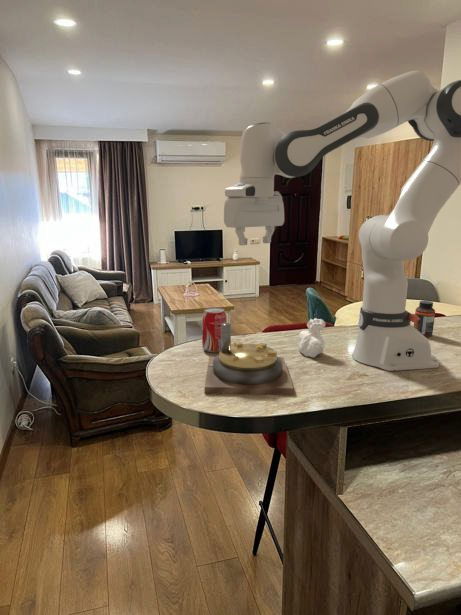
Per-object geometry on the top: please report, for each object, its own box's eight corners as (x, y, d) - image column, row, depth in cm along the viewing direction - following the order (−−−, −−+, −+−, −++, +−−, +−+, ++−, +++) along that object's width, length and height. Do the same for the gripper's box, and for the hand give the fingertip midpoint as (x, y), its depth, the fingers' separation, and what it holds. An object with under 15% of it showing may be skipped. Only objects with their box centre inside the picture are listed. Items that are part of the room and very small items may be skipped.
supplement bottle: (409, 332, 147) (412, 299, 144) (426, 332, 147) (429, 299, 145) (418, 338, 141) (422, 303, 138) (436, 337, 142) (440, 303, 139)
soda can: (203, 345, 131) (203, 306, 128) (226, 346, 131) (227, 307, 128) (201, 353, 124) (200, 312, 121) (225, 354, 124) (226, 313, 121)
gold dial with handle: (224, 349, 115) (224, 316, 113) (277, 352, 113) (278, 319, 111) (214, 369, 101) (214, 332, 99) (275, 373, 99) (276, 335, 97)
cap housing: (283, 362, 118) (283, 348, 117) (293, 394, 98) (294, 377, 97) (209, 361, 118) (209, 347, 117) (204, 393, 98) (204, 376, 97)
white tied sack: (321, 367, 121) (345, 334, 121) (302, 353, 118) (327, 320, 118) (301, 353, 132) (323, 323, 132) (283, 340, 129) (306, 309, 129)
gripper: (272, 191, 122) (271, 241, 126) (220, 189, 108) (219, 245, 112) (290, 191, 118) (288, 242, 121) (238, 189, 104) (237, 247, 107)
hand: (255, 244), depth 116 cm, fingers open, 8 cm apart
